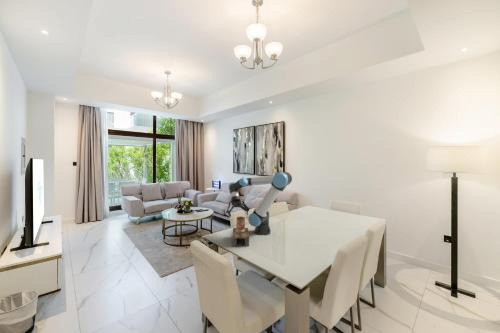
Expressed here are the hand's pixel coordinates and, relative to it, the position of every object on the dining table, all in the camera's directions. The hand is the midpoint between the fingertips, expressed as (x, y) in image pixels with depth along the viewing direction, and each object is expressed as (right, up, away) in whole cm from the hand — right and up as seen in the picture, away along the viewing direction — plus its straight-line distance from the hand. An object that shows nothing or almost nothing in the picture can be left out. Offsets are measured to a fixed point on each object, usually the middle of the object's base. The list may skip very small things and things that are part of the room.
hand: (239, 219), depth 183 cm
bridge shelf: (+1, -19, 0) cm, 19 cm away
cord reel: (+1, -11, -1) cm, 11 cm away
